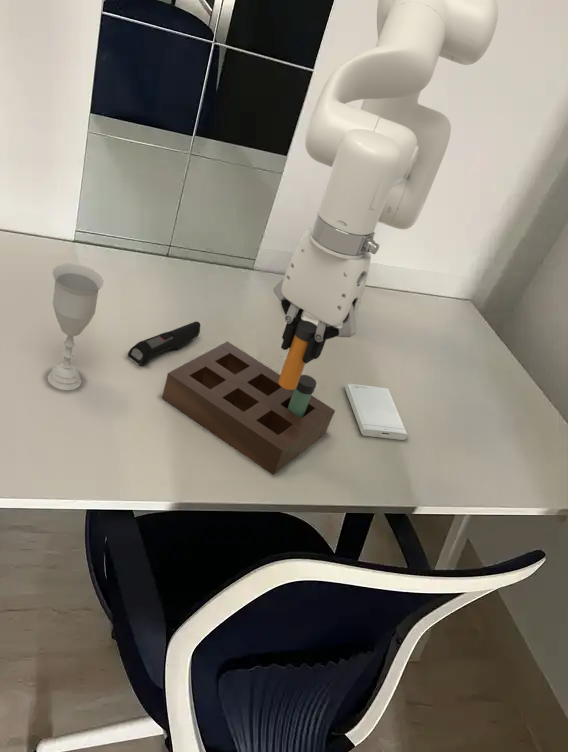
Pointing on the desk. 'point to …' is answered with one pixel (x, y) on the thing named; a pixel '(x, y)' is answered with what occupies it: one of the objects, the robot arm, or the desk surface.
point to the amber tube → (296, 355)
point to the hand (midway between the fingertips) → (299, 351)
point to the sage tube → (302, 395)
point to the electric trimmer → (163, 343)
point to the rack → (245, 406)
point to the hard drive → (376, 412)
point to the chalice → (72, 315)
